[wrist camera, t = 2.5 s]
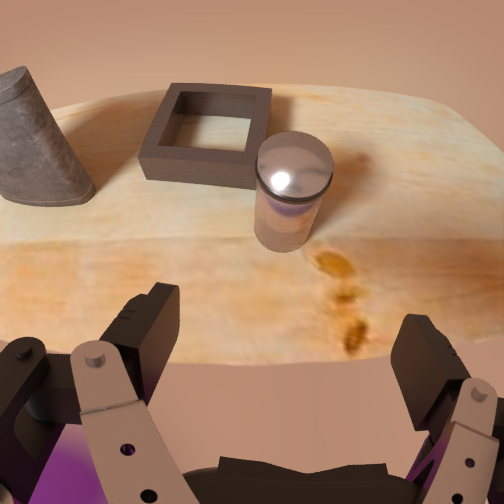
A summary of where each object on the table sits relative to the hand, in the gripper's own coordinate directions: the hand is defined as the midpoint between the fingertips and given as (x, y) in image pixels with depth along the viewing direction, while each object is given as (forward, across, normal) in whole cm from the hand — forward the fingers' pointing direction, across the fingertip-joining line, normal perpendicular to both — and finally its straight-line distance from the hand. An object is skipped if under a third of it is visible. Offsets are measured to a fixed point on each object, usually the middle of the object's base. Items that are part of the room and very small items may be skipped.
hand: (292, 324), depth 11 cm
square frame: (+24, +8, -4) cm, 26 cm away
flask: (+19, +26, +2) cm, 32 cm away
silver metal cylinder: (+18, 0, +2) cm, 18 cm away
